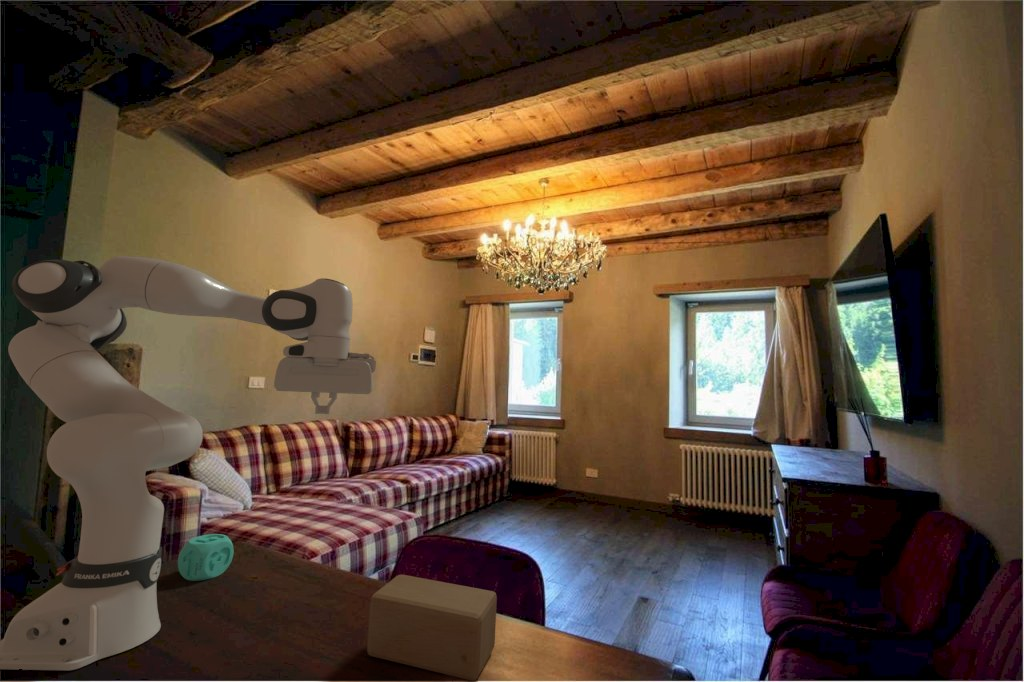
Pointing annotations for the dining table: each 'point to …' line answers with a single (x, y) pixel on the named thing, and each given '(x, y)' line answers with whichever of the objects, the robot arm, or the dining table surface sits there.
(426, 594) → the wooden block
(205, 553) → the decorative dice
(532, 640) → the dining table surface
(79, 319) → the robot arm
